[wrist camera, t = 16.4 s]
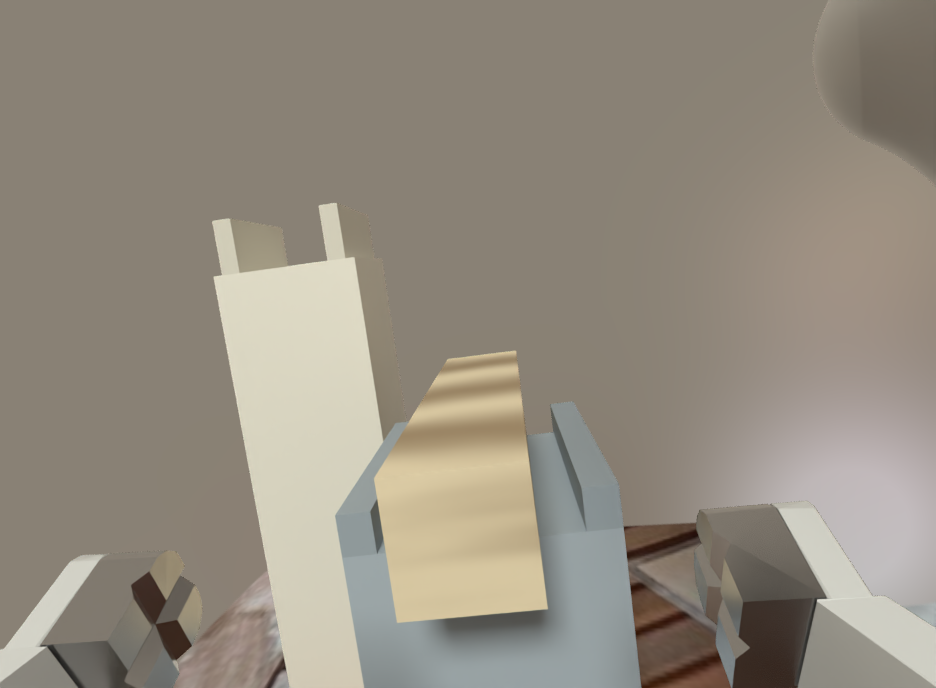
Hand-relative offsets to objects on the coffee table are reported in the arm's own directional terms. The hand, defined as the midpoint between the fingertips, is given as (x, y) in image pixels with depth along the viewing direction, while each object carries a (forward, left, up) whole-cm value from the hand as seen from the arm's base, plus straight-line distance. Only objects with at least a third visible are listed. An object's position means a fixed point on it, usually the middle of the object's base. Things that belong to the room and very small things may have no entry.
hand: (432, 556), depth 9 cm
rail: (+6, -15, -5) cm, 17 cm away
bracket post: (+19, -23, -20) cm, 36 cm away
